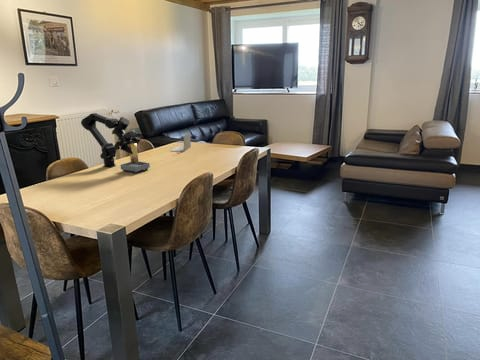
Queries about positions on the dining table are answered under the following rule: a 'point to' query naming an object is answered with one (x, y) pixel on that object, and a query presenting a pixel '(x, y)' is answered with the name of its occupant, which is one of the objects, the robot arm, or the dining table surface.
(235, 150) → the dining table surface
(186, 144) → the laptop
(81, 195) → the dining table surface
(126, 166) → the gray rectangular tray
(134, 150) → the gold cylinder
